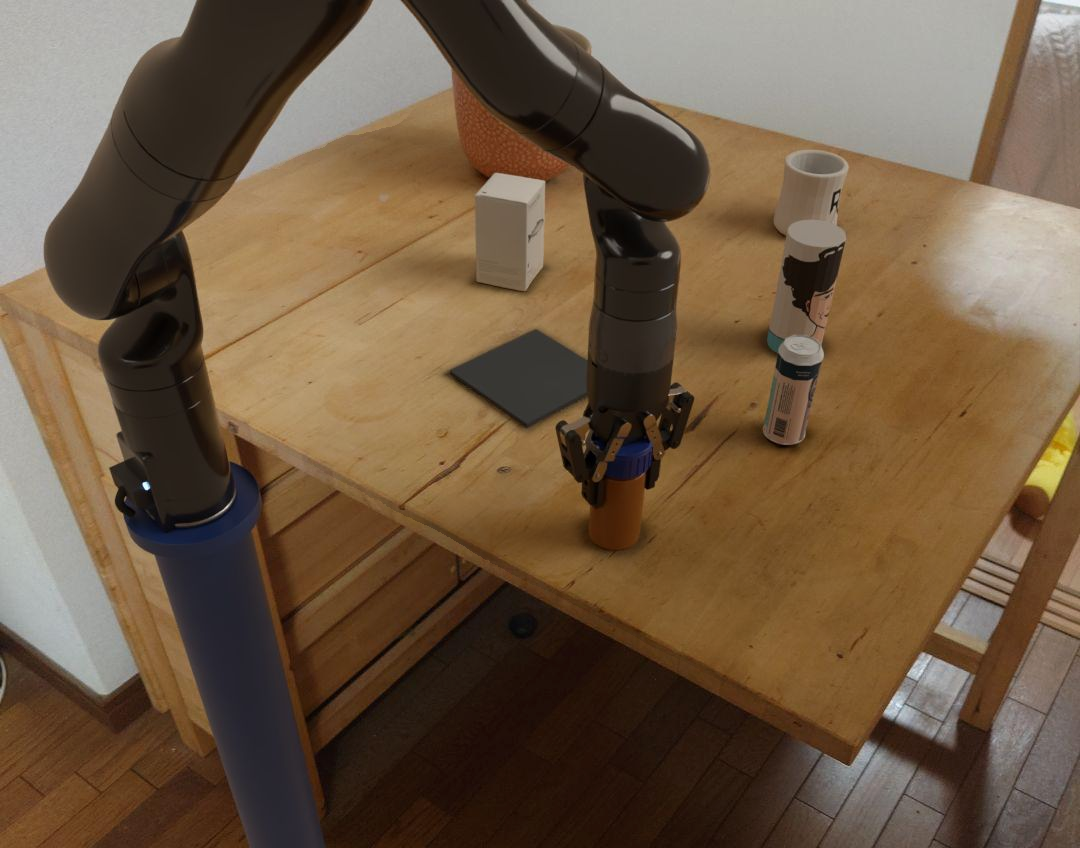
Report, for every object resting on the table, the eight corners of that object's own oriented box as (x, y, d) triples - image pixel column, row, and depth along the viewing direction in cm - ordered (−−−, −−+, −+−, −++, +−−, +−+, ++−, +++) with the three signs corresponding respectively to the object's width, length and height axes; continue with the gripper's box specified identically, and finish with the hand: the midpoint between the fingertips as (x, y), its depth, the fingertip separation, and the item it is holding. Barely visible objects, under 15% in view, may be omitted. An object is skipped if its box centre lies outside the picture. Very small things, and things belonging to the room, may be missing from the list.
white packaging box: (526, 293, 142) (526, 203, 133) (474, 282, 144) (472, 193, 135) (545, 267, 147) (547, 179, 138) (495, 257, 149) (494, 170, 140)
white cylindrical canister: (806, 364, 131) (831, 253, 120) (757, 346, 134) (777, 235, 123) (829, 340, 135) (855, 230, 124) (781, 323, 138) (802, 214, 127)
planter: (428, 175, 167) (420, 49, 154) (506, 131, 180) (505, 11, 167) (536, 211, 159) (538, 81, 146) (610, 163, 171) (618, 39, 158)
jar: (614, 558, 106) (622, 468, 98) (577, 531, 108) (582, 441, 100) (650, 534, 108) (660, 445, 100) (613, 508, 111) (621, 419, 103)
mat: (526, 428, 121) (526, 423, 120) (449, 374, 128) (449, 370, 128) (614, 381, 128) (614, 376, 127) (536, 332, 135) (536, 328, 135)
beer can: (812, 444, 119) (833, 353, 111) (773, 451, 118) (792, 360, 110) (792, 419, 123) (812, 329, 114) (754, 426, 121) (772, 335, 113)
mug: (830, 247, 152) (845, 180, 145) (767, 237, 154) (779, 170, 147) (841, 210, 161) (856, 145, 154) (781, 200, 163) (793, 136, 156)
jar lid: (644, 438, 104) (647, 414, 102) (657, 477, 100) (660, 453, 98) (584, 442, 103) (585, 419, 101) (594, 481, 99) (596, 458, 97)
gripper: (675, 305, 98) (659, 451, 109) (538, 346, 92) (536, 494, 104) (724, 345, 93) (702, 492, 104) (582, 390, 88) (576, 541, 99)
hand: (619, 493), depth 104 cm, fingers closed on jar lid, 5 cm apart
